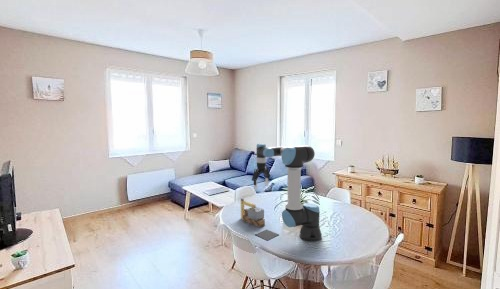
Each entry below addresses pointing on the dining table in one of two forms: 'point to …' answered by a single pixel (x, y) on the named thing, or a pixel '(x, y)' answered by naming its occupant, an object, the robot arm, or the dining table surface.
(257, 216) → the light grey block
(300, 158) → the robot arm
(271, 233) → the mat
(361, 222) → the dining table surface
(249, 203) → the tan wooden flat frame
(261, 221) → the plane body
